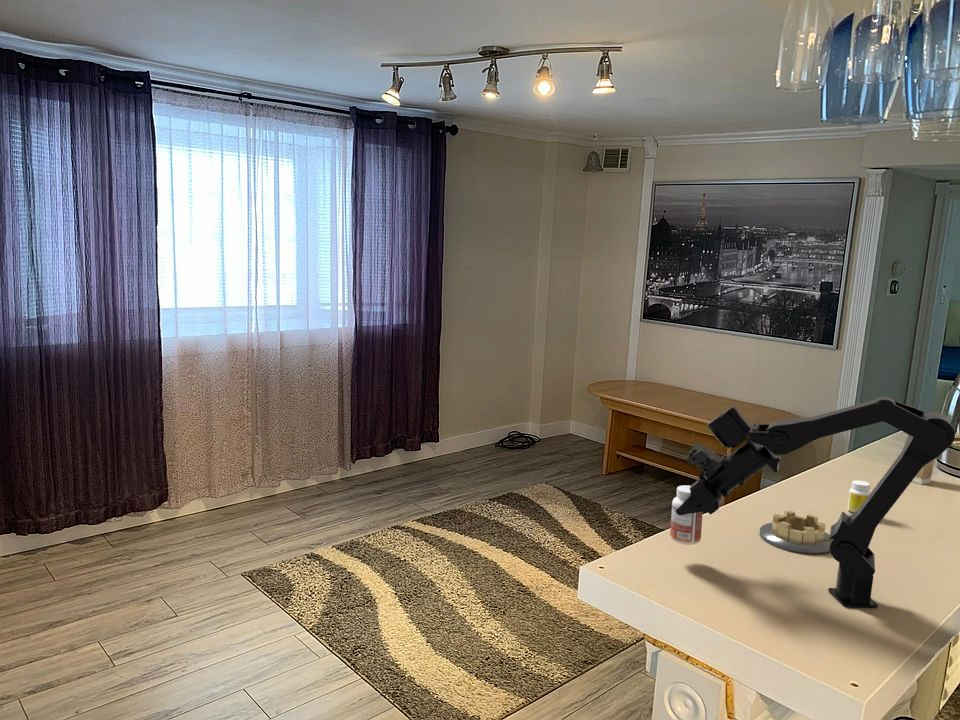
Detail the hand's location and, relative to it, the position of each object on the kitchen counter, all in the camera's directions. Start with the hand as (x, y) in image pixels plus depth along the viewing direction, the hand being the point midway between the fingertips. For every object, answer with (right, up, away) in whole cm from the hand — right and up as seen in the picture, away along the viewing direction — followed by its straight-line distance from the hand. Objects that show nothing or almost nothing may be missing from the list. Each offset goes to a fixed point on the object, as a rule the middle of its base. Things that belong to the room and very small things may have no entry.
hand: (680, 508), depth 150 cm
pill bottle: (+1, -7, 0) cm, 7 cm away
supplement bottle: (+53, -8, +32) cm, 63 cm away
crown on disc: (+31, -10, +15) cm, 35 cm away
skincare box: (+86, -5, +61) cm, 106 cm away
